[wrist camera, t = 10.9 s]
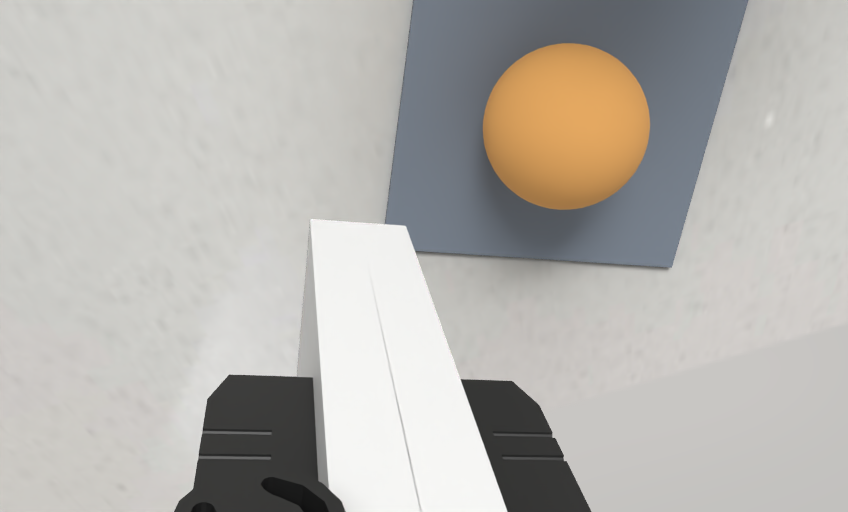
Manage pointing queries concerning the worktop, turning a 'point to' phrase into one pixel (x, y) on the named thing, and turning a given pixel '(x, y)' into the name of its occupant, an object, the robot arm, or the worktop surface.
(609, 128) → the ball
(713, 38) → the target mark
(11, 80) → the worktop surface
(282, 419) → the robot arm
